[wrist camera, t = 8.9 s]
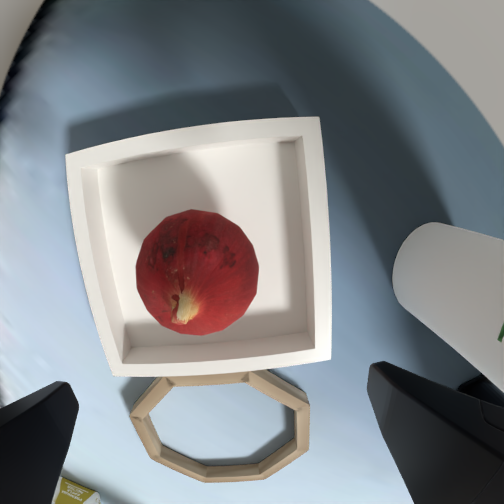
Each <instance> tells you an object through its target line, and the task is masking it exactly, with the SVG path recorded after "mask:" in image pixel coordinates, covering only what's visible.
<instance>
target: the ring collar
mask: <svg viewBox="0 0 504 504" xmlns="http://www.w3.org/2000/svg"><path fill="white" fill-rule="evenodd" d="M243 382H245V383H246V384H248V385H250V386H252V387H253V388H255V389H257V390H259V391H260V392H262V393H264V394H266V395H267V396H269V397H271V398H273V399H275V400H277V401H278V402H280V403H282V404H284V405H286V406H288V407H290V408H292V409H294V438H293V439H292V440H291V441H289V442H288V443H287V444H285V445H284V446H282V447H281V448H280V449H278V450H277V451H276V452H274V453H273V454H271V455H270V456H268V457H267V458H266V459H264V460H263V461H261V462H260V463H257V464H246V465H231V466H205V465H203V464H200V463H198V462H196V461H194V460H191V459H189V458H187V457H185V456H183V455H181V454H179V453H177V452H175V451H173V450H171V449H169V448H167V447H165V446H163V445H162V443H161V441H160V439H159V437H158V435H157V432H156V430H155V428H154V426H153V423H152V421H151V419H150V416H149V414H148V413H149V412H150V411H151V410H152V409H153V408H154V407H155V406H156V405H157V404H158V403H159V402H160V401H161V399H162V398H163V397H164V396H165V395H166V394H167V393H168V392H169V391H170V390H171V389H172V388H173V387H178V386H203V385H219V384H232V383H243ZM130 418H131V421H132V423H133V425H134V427H135V429H136V431H137V433H138V435H139V437H140V439H141V441H142V443H143V445H144V447H145V449H146V451H147V453H148V455H149V456H150V458H151V459H153V460H154V461H156V462H158V463H161V464H163V465H165V466H167V467H169V468H171V469H173V470H175V471H178V472H180V473H182V474H184V475H187V476H189V477H191V478H194V479H196V480H199V481H201V482H204V483H214V482H239V481H253V480H264V479H266V478H268V477H269V476H271V475H273V474H274V473H276V472H277V471H279V470H280V469H282V468H283V467H285V466H286V465H288V464H289V463H291V462H292V461H294V460H295V459H297V458H298V457H300V456H301V455H302V454H304V453H305V452H307V451H308V450H309V425H310V404H309V401H308V398H307V395H306V393H305V392H303V391H301V390H299V389H298V388H296V387H294V386H293V385H291V384H289V383H287V382H286V381H284V380H282V379H281V378H279V377H277V376H276V375H274V374H272V373H271V372H269V371H267V370H266V369H264V370H255V371H246V372H235V373H224V374H210V375H192V376H164V377H157V378H156V379H155V380H154V381H153V383H152V384H151V385H150V386H149V387H148V388H147V390H146V391H145V392H144V393H143V394H142V395H141V397H140V398H139V399H138V400H137V401H136V402H135V404H134V406H133V408H132V410H131V413H130Z"/></svg>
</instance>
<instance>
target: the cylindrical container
mask: <svg viewBox="0 0 504 504" xmlns="http://www.w3.org/2000/svg"><path fill="white" fill-rule="evenodd" d="M392 282H393V289H394V293H395V296H396V298H397V300H398V302H399V303H400V304H401V305H402V306H403V307H404V308H405V309H406V310H407V311H409V312H410V313H411V314H412V315H414V316H415V317H416V318H417V319H419V320H420V321H421V322H422V323H423V324H425V325H426V326H427V327H428V328H430V329H431V330H432V331H433V332H434V333H436V334H437V335H438V336H439V337H440V338H442V339H443V340H444V341H445V342H446V343H448V344H449V345H450V346H451V347H452V348H454V349H455V350H456V351H457V352H458V353H459V354H461V355H462V356H463V357H464V358H465V359H466V360H467V361H469V362H470V363H471V364H472V365H473V366H474V367H475V368H477V369H478V370H479V371H480V372H481V373H482V374H483V375H485V376H486V377H487V378H488V379H489V380H490V381H491V382H492V383H493V384H495V385H496V386H497V387H498V388H499V389H500V390H501V391H502V392H503V393H504V240H502V239H498V238H495V237H491V236H488V235H484V234H481V233H477V232H473V231H470V230H466V229H462V228H458V227H454V226H450V225H447V224H442V223H438V222H430V223H427V224H423V225H422V226H420V227H418V228H416V229H415V230H414V231H413V232H412V233H411V234H410V235H409V236H408V237H407V238H406V240H405V241H404V242H403V244H402V246H401V247H400V249H399V251H398V254H397V256H396V259H395V262H394V267H393V275H392Z"/></svg>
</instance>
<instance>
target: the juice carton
mask: <svg viewBox="0 0 504 504" xmlns="http://www.w3.org/2000/svg"><path fill="white" fill-rule="evenodd" d="M52 504H101V502H100V495H99V493H98V492H96V491H93V490H91V489H88V488H86V487H83V486H81V485H79V484H76V483H74V482H72V481H70V480H67V479H65V478H63V477H61V476H60V477H59V480H58V483H57V486H56V490H55V493H54V497H53V500H52Z"/></svg>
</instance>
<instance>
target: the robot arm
mask: <svg viewBox="0 0 504 504" xmlns="http://www.w3.org/2000/svg"><path fill="white" fill-rule="evenodd" d="M367 392H368V395H369V398H370V401H371V404H372V407H373V410H374V413H375V416H376V419H377V422H378V425H379V428H380V430H381V433H382V436H383V438H384V440H385V442H386V444H387V446H388V448H389V450H390V453H391V455H392V457H393V459H394V461H395V463H396V465H397V467H398V469H399V472H400V474H401V476H402V478H403V480H404V482H405V484H406V487H407V489H408V491H409V493H410V495H411V498H412V500H413V502H414V504H504V393H503V392H502V391H501V390H500V389H499V388H498V387H497V386H496V385H495V384H493V383H492V382H491V381H490V380H489V379H488V378H487V377H486V376H485V375H481V376H479V377H477V378H475V379H473V380H471V381H469V382H467V383H465V384H462V385H461V386H460V387H459V389H458V391H456V390H453V389H451V388H448V387H446V386H443V385H441V384H438V383H436V382H433V381H431V380H428V379H426V378H424V377H421V376H419V375H416V374H414V373H412V372H409V371H407V370H404V369H402V368H400V367H397V366H395V365H393V364H390V363H388V362H386V361H381V362H377V363H373V364H371V365H370V368H369V375H368V383H367ZM78 410H79V404H78V401H77V399H76V397H75V394H74V392H73V390H72V388H71V386H70V384H69V383H67V382H62V381H56V382H54V383H52V384H50V385H48V386H46V387H44V388H42V389H40V390H38V391H36V392H34V393H32V394H30V395H28V396H26V397H23V398H21V399H19V400H17V401H15V402H13V403H11V404H9V405H7V406H5V407H3V408H0V504H52V500H53V497H54V493H55V490H56V486H57V483H58V480H59V477H60V473H61V470H62V467H63V464H64V461H65V458H66V455H67V452H68V449H69V446H70V442H71V438H72V434H73V430H74V426H75V422H76V418H77V414H78Z"/></svg>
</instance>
